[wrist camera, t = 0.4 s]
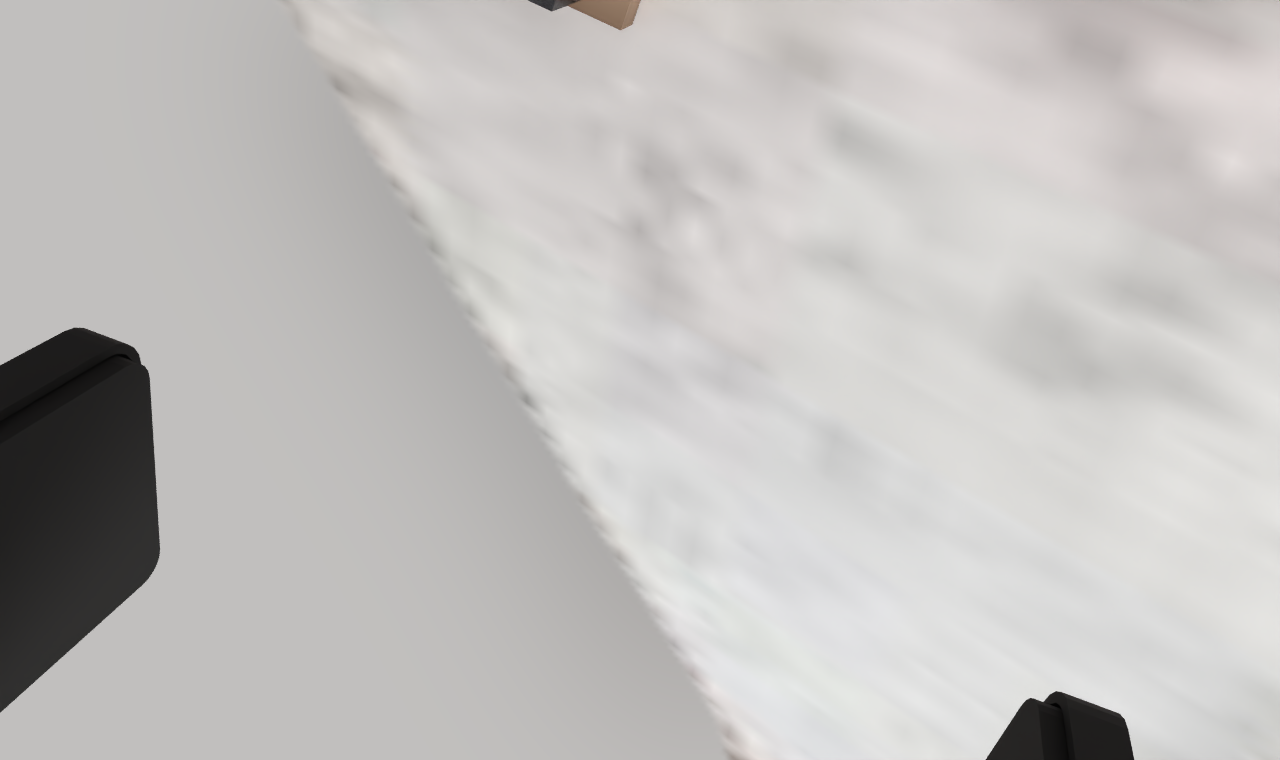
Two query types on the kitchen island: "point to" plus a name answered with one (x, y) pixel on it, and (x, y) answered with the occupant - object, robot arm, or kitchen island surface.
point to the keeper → (553, 3)
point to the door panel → (609, 11)
